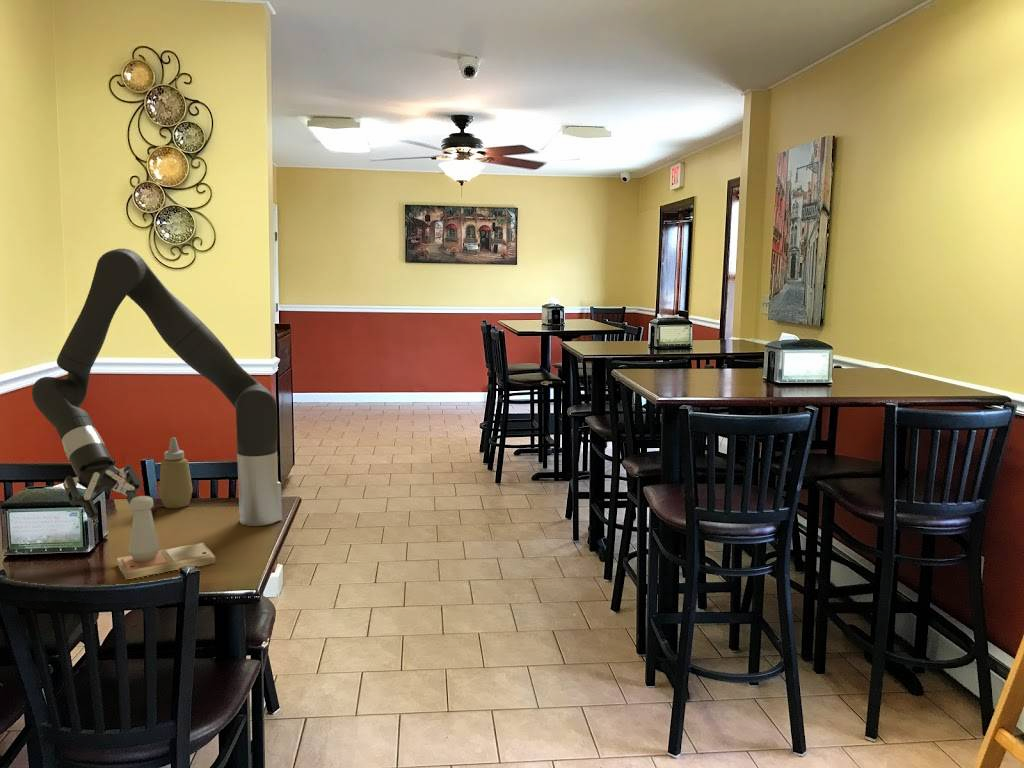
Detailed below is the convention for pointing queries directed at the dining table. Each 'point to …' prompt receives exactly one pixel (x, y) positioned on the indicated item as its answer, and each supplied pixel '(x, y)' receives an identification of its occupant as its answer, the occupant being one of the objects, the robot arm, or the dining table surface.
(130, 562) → the tile board
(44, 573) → the dining table surface
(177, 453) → the squeeze bottle
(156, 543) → the salt shaker
